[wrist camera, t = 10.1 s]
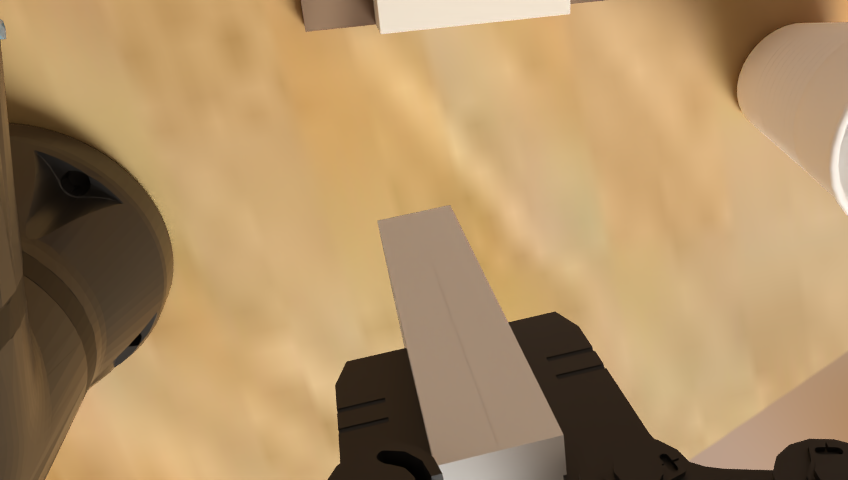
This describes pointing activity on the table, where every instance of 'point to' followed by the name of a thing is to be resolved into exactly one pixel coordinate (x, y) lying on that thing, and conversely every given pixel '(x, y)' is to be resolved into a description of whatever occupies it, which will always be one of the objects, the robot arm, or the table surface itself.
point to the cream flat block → (459, 12)
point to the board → (346, 13)
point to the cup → (803, 98)
